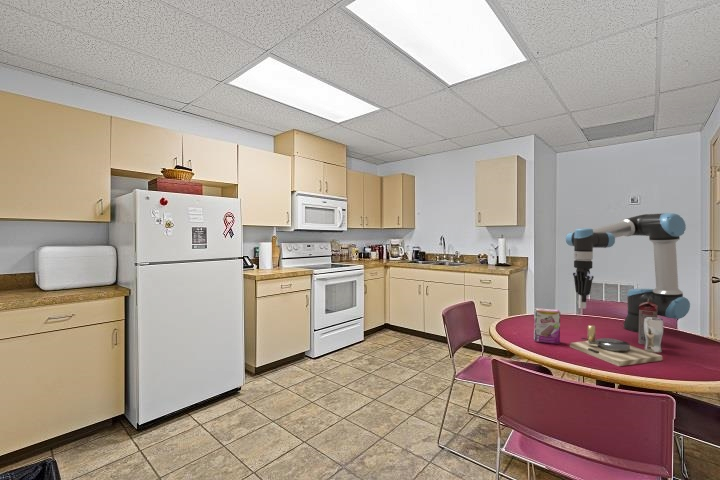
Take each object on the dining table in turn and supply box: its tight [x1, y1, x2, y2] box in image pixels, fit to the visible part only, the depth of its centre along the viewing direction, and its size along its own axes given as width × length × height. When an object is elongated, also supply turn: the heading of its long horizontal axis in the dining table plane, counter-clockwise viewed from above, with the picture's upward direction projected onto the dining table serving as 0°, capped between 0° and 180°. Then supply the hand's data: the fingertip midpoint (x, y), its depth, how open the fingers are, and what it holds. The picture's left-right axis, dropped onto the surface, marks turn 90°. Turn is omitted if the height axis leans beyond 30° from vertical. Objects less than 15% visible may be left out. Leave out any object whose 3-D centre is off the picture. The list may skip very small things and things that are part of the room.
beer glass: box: [644, 317, 664, 354], centre depth 157 cm, size 7×7×15 cm
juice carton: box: [638, 298, 658, 346], centre depth 167 cm, size 7×7×22 cm
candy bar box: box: [533, 307, 561, 345], centre depth 170 cm, size 11×5×16 cm, turn 71°
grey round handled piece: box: [580, 324, 630, 352], centre depth 156 cm, size 18×12×9 cm, turn 69°
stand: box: [569, 340, 663, 367], centre depth 154 cm, size 24×24×3 cm
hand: (582, 308), depth 165 cm, fingers closed
